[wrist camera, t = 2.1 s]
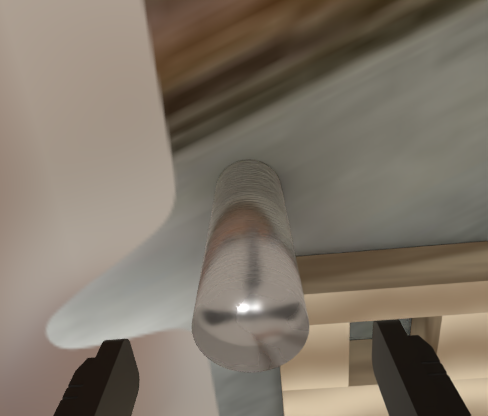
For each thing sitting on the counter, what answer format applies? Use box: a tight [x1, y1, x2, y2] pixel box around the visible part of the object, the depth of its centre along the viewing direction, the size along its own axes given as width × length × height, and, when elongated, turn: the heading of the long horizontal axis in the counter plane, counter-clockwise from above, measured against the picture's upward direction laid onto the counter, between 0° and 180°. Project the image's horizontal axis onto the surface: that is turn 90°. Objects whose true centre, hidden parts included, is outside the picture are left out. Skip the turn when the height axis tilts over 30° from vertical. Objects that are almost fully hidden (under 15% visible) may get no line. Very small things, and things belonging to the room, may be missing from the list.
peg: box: [192, 160, 309, 372], centre depth 19 cm, size 4×4×12 cm
